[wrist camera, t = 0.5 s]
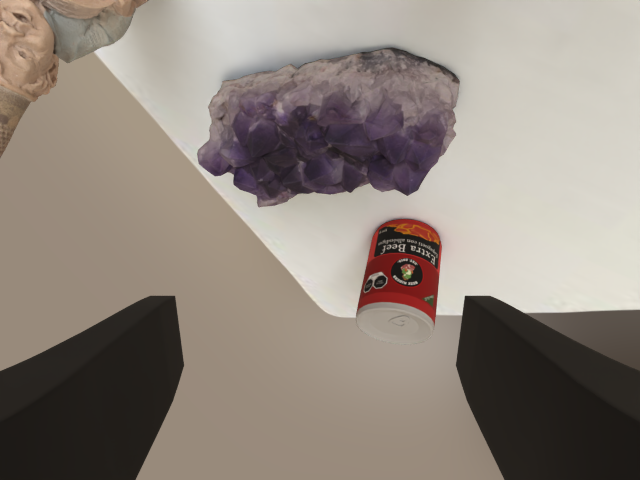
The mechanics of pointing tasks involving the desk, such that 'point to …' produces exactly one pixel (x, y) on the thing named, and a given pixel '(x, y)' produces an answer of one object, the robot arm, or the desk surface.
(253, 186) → the geode
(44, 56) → the figurine
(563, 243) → the desk surface
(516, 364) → the robot arm
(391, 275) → the canned food
